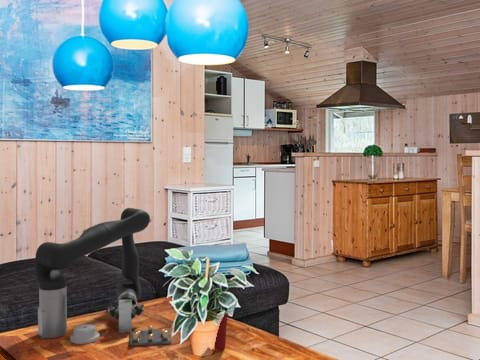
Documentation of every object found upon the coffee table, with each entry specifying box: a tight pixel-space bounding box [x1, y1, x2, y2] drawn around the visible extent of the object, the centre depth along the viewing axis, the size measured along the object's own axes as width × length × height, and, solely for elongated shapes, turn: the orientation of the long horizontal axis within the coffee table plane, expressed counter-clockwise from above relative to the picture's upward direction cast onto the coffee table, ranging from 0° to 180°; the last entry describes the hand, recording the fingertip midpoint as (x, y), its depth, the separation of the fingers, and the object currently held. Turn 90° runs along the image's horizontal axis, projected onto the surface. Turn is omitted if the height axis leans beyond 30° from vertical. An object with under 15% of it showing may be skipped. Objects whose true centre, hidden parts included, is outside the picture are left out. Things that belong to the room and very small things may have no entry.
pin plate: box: [129, 325, 172, 347], centre depth 178 cm, size 14×12×4 cm
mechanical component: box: [69, 323, 101, 345], centre depth 178 cm, size 10×4×10 cm
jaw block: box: [118, 299, 133, 334], centre depth 186 cm, size 4×4×11 cm
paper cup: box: [214, 312, 228, 352], centre depth 170 cm, size 8×8×14 cm
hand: (125, 316), depth 184 cm, fingers closed on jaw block, 4 cm apart
